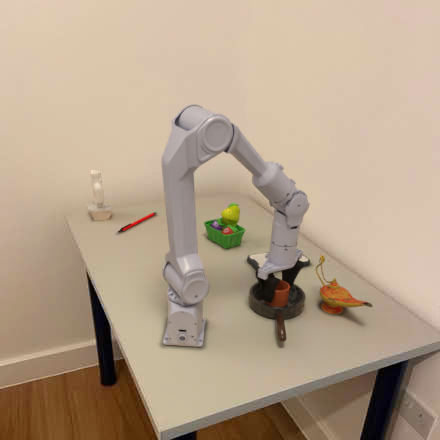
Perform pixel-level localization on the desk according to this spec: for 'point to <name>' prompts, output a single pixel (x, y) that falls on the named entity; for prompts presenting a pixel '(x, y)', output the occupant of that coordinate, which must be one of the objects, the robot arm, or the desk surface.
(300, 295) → the pan
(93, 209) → the figurine
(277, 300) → the terracotta cup
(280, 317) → the pan handle
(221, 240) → the fruit basket
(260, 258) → the phone case
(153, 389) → the desk surface
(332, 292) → the magic lamp
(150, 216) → the pen
